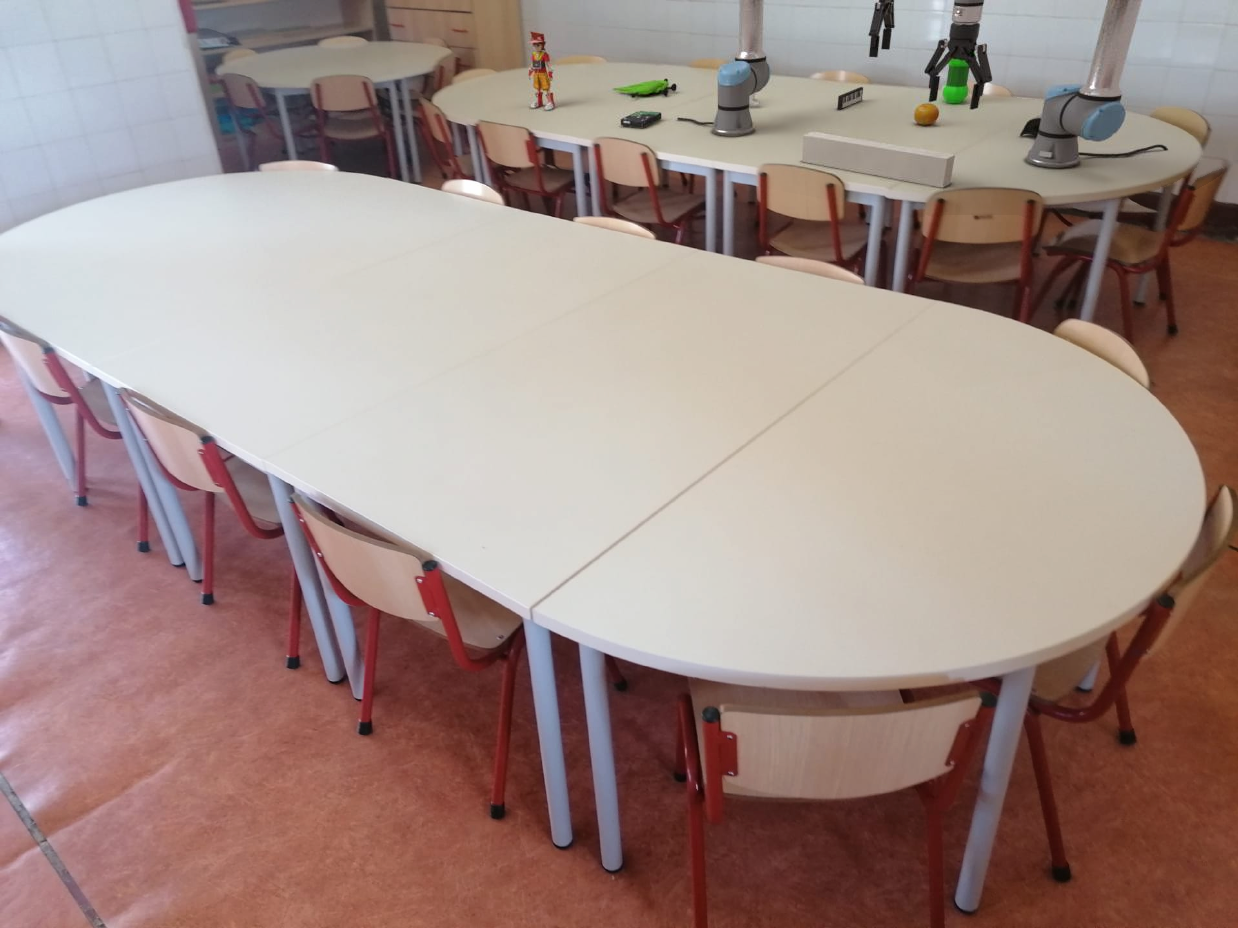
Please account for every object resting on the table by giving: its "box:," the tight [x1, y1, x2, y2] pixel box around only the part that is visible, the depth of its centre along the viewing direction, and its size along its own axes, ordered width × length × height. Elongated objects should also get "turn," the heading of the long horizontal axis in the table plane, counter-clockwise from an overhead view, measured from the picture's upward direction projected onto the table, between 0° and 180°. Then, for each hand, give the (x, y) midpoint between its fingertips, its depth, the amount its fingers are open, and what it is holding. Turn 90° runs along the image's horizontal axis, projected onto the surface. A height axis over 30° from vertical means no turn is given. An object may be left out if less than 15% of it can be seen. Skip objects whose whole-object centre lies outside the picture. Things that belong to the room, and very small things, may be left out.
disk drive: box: [620, 110, 663, 129], centre depth 352 cm, size 10×3×15 cm
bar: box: [801, 131, 956, 189], centre depth 286 cm, size 50×5×9 cm, turn 47°
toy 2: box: [612, 78, 677, 99], centre depth 396 cm, size 28×5×30 cm
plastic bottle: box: [942, 50, 976, 104], centre depth 348 cm, size 10×10×25 cm
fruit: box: [913, 102, 940, 126], centre depth 329 cm, size 8×8×8 cm
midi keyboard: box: [836, 86, 864, 110], centre depth 358 cm, size 18×1×5 cm, turn 138°
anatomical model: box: [749, 93, 760, 107], centre depth 367 cm, size 15×10×10 cm
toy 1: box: [527, 31, 556, 111], centre depth 374 cm, size 12×9×30 cm
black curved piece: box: [1019, 113, 1042, 139], centre depth 316 cm, size 30×9×10 cm
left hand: (879, 53), depth 308 cm, fingers open, 13 cm apart
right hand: (952, 105), depth 254 cm, fingers open, 13 cm apart
